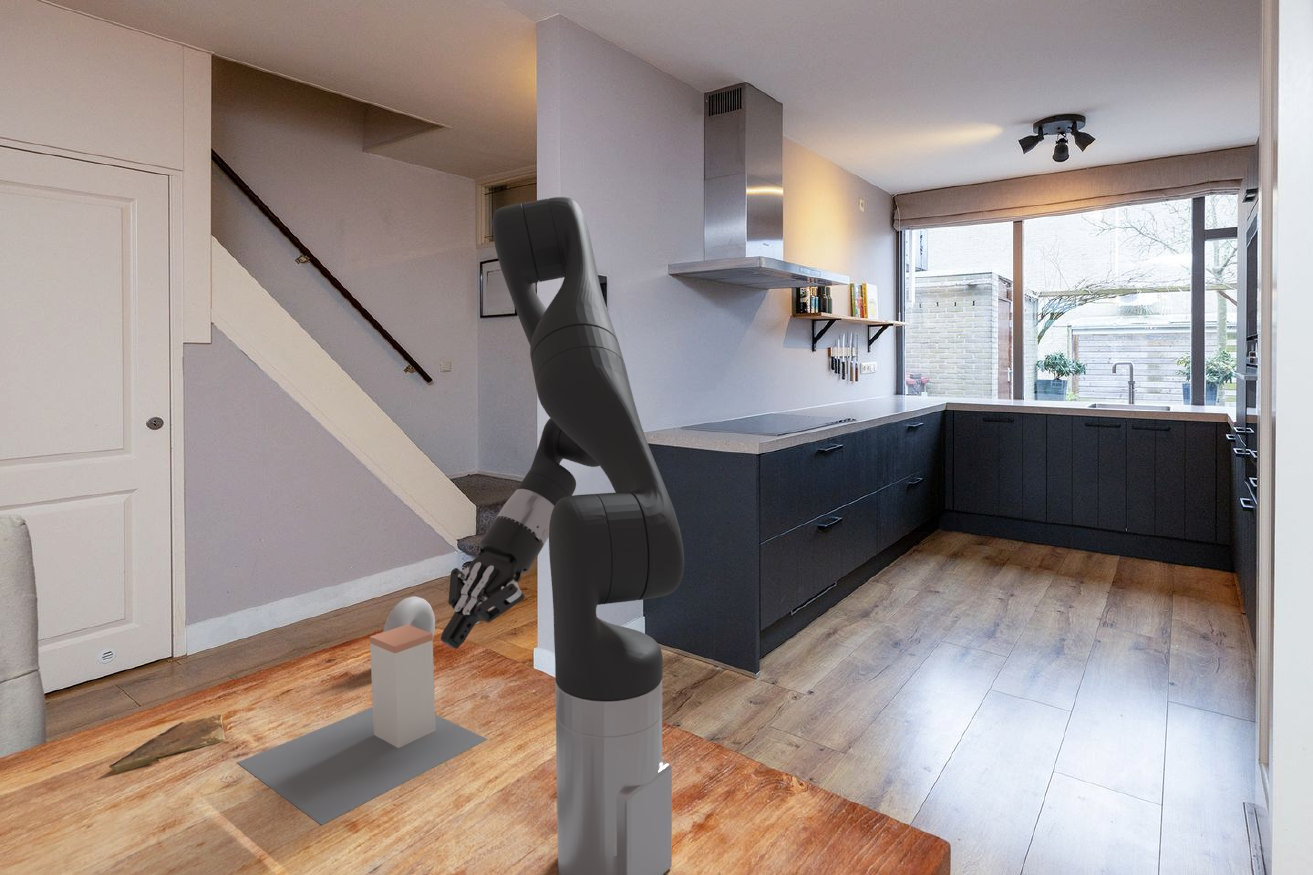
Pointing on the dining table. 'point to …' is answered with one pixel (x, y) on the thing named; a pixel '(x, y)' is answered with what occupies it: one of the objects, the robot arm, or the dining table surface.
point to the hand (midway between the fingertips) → (448, 644)
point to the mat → (352, 763)
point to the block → (402, 684)
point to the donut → (412, 615)
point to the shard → (174, 742)
